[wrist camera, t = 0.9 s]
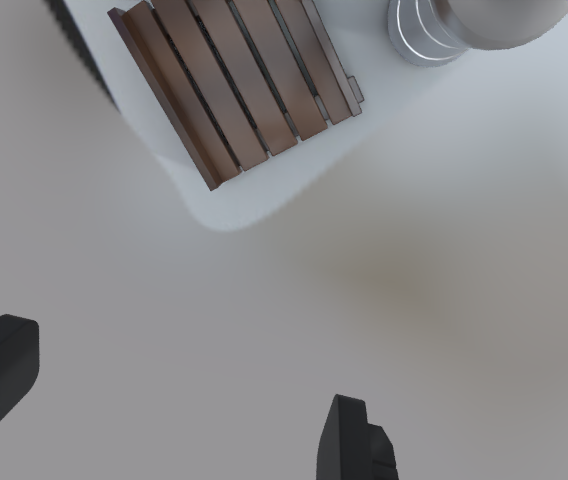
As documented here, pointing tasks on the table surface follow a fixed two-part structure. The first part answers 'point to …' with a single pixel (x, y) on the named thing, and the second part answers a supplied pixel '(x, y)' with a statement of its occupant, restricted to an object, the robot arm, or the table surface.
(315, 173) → the table surface
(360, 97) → the wooden slatted rack
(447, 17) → the silver metal bottle
